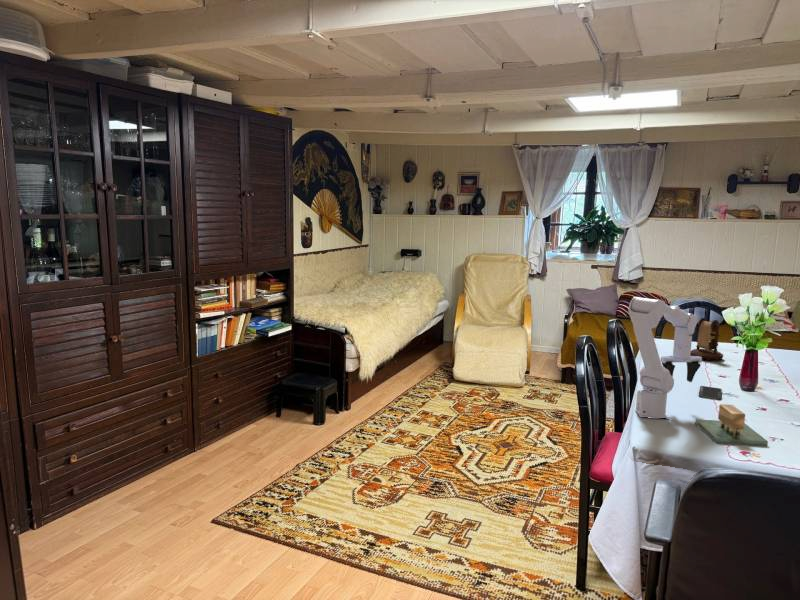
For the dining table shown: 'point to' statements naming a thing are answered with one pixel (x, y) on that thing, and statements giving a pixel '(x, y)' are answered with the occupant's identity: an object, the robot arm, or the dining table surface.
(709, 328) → the brown wooden ornament
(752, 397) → the dining table surface
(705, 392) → the phone
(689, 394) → the dining table surface
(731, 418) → the oak block
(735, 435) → the green slab
